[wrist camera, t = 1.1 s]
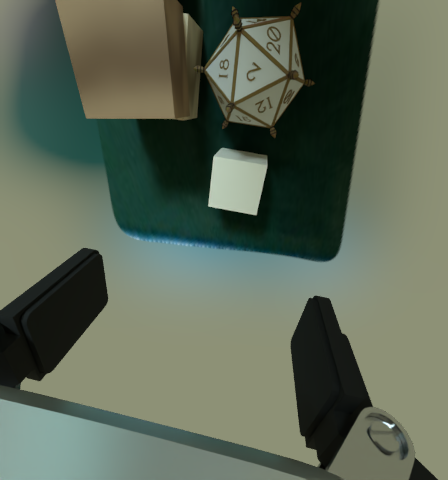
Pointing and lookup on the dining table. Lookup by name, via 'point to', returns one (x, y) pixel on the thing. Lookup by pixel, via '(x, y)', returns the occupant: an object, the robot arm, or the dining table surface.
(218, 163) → the ivory cube
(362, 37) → the dining table surface
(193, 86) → the oak block
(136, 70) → the walnut block
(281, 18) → the game die
